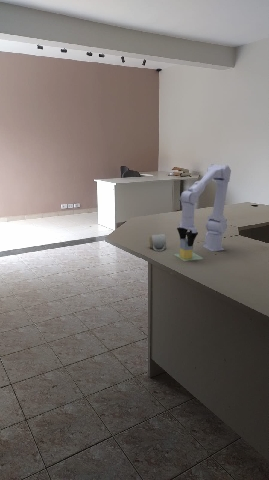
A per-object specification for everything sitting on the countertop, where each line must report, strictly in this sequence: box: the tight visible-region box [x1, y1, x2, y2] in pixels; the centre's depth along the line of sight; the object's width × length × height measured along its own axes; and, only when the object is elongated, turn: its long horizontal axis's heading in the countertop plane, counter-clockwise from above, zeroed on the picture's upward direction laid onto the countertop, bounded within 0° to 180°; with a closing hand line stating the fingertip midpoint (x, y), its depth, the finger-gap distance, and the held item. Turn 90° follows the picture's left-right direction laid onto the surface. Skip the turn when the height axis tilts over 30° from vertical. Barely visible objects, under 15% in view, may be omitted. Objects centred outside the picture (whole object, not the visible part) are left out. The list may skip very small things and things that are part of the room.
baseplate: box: [173, 251, 204, 262], centre depth 182 cm, size 11×11×1 cm
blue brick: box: [179, 237, 194, 250], centre depth 178 cm, size 4×4×4 cm
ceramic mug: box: [149, 233, 167, 252], centre depth 193 cm, size 11×8×8 cm
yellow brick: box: [179, 247, 194, 259], centre depth 179 cm, size 4×4×4 cm
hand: (186, 243), depth 178 cm, fingers open, 7 cm apart
